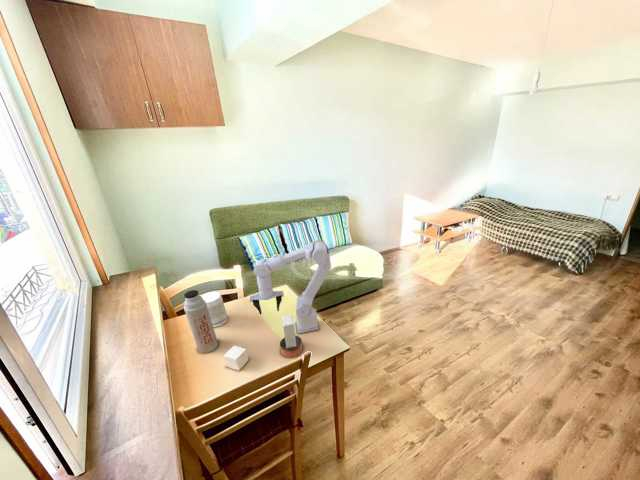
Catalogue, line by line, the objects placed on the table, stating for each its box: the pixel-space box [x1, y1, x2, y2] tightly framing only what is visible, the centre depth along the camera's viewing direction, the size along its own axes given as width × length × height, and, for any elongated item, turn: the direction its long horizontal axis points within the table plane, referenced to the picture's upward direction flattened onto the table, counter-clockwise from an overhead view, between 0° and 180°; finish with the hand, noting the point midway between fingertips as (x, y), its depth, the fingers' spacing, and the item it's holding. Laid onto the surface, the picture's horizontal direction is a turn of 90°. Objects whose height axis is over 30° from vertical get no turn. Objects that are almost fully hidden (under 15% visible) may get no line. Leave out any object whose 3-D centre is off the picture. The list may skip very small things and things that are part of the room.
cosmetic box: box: [281, 315, 296, 348], centre depth 115 cm, size 6×4×12 cm
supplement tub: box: [200, 291, 229, 328], centre depth 134 cm, size 10×10×15 cm
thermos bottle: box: [183, 289, 219, 354], centre depth 116 cm, size 8×8×28 cm
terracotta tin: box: [279, 334, 303, 358], centre depth 119 cm, size 9×9×4 cm
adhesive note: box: [223, 345, 249, 372], centre depth 112 cm, size 6×6×6 cm
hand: (269, 311), depth 127 cm, fingers open, 7 cm apart
